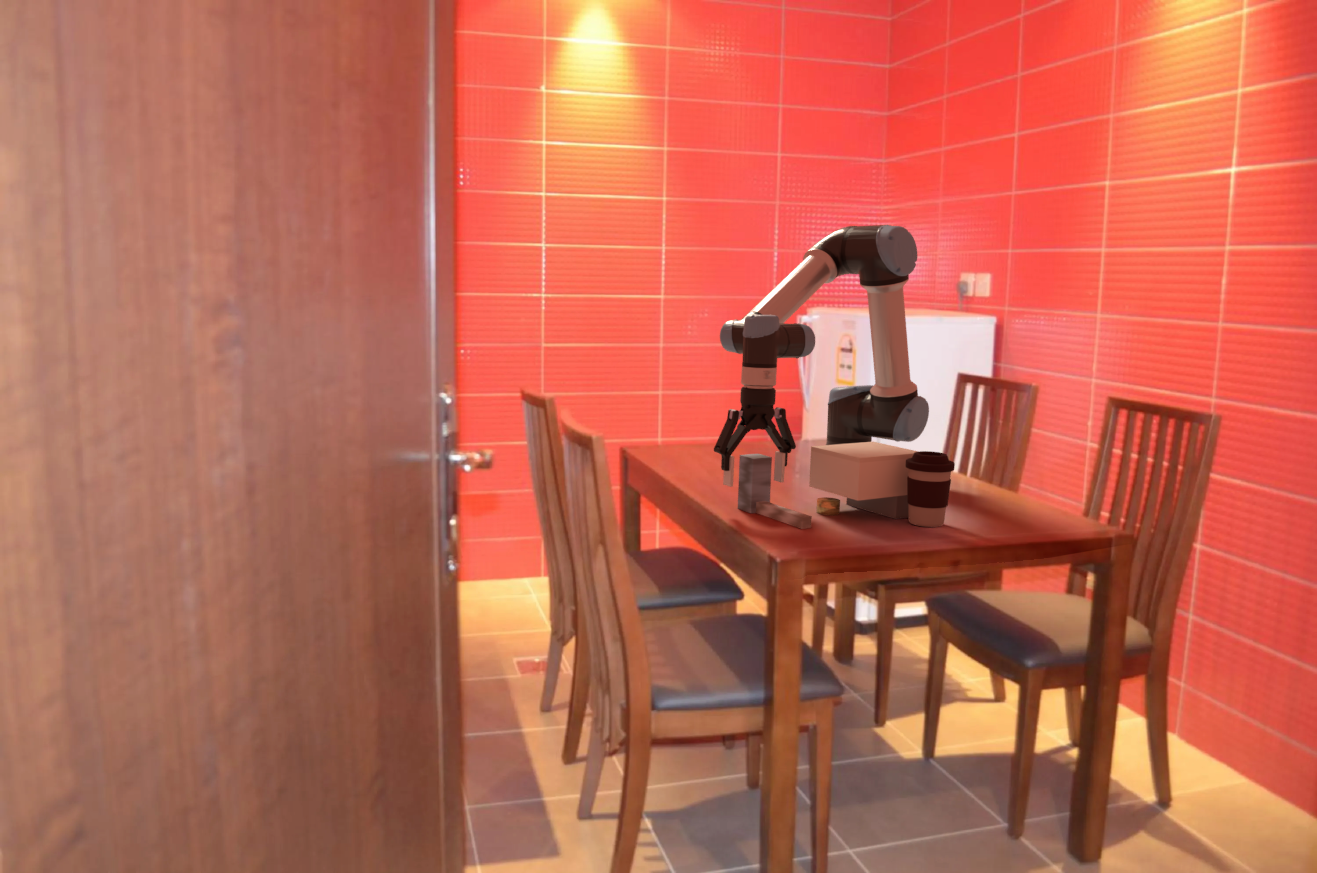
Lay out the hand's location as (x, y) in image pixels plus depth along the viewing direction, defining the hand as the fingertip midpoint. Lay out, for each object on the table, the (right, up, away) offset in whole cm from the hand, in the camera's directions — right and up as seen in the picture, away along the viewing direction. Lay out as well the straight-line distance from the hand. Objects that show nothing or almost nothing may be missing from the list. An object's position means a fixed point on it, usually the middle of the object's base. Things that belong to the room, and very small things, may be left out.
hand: (753, 483), depth 230 cm
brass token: (+16, -7, 0) cm, 17 cm away
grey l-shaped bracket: (+4, -7, -6) cm, 10 cm away
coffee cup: (+36, -8, -8) cm, 37 cm away
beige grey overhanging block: (+24, -6, +2) cm, 25 cm away
